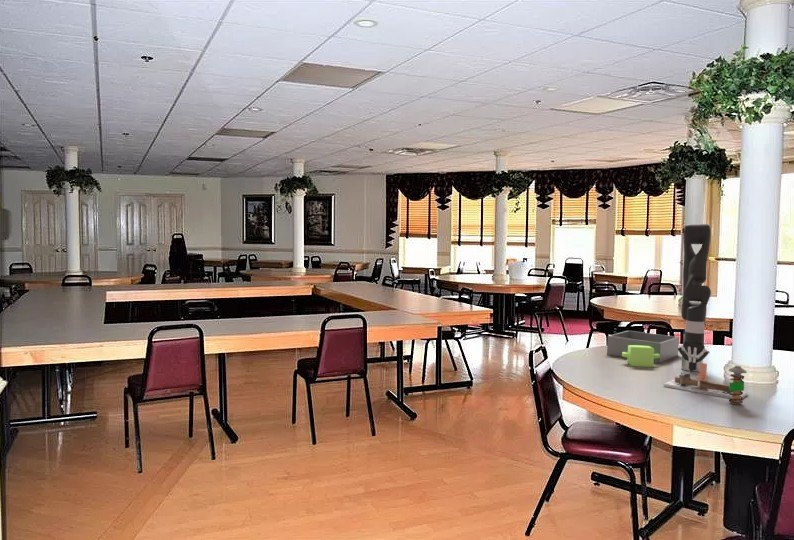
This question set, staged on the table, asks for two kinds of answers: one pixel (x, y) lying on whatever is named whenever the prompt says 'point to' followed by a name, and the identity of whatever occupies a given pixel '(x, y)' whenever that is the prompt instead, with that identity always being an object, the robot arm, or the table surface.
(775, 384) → the table surface
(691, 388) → the hole plate
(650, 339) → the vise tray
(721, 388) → the beam
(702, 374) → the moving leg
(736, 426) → the table surface
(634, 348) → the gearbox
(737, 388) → the shock absorber
